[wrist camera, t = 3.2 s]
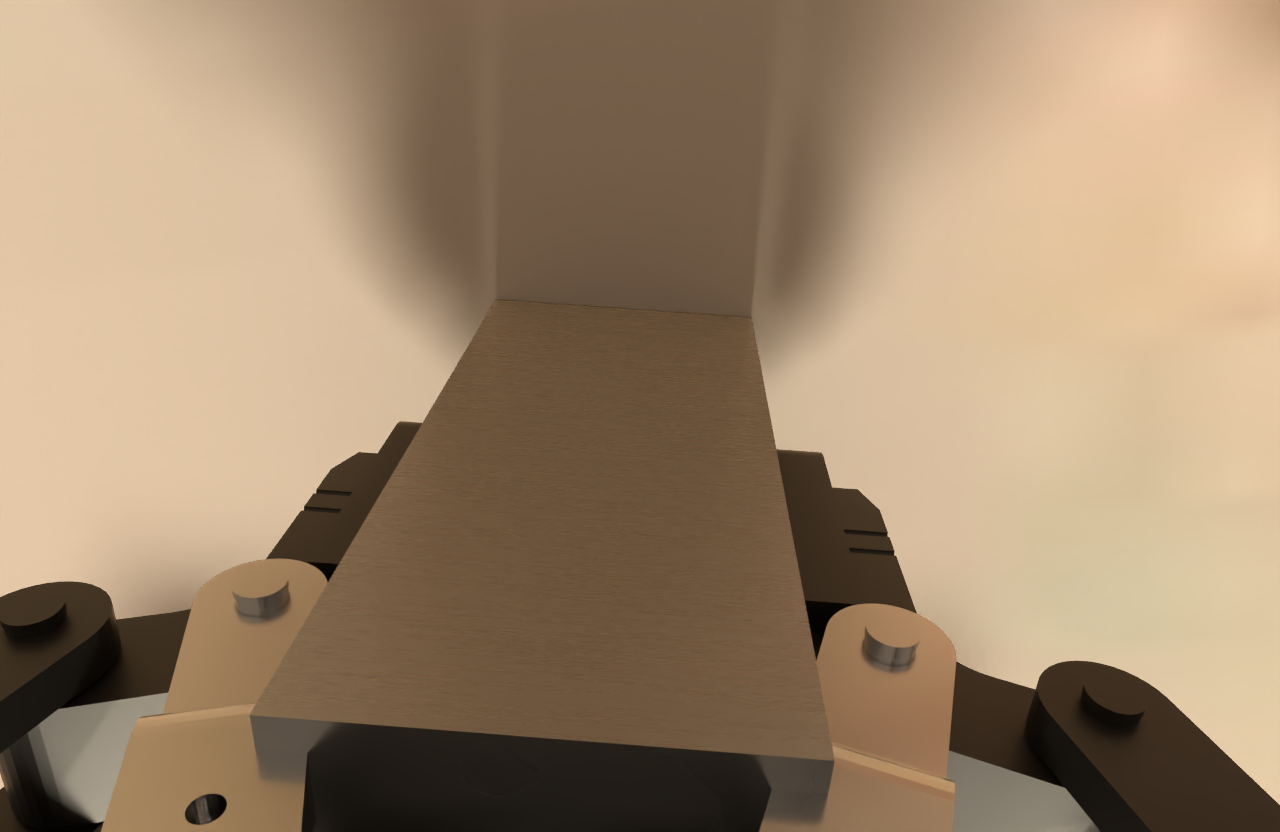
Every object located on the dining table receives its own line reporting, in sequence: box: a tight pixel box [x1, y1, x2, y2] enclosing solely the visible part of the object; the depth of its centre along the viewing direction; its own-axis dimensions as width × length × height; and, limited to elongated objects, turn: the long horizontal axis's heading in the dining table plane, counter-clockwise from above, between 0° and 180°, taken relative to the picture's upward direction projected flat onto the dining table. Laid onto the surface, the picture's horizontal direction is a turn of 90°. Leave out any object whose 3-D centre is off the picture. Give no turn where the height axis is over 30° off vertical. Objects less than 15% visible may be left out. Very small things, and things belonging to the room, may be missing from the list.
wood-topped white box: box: [250, 300, 835, 832], centre depth 11 cm, size 4×4×9 cm
